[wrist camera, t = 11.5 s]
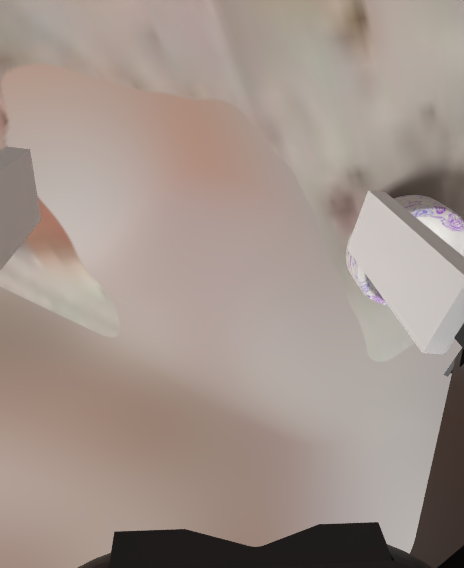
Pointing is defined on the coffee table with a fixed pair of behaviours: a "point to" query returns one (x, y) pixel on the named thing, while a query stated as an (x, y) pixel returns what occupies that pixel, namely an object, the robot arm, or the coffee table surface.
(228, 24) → the coffee table surface
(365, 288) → the paper bowls
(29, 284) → the coffee table surface
